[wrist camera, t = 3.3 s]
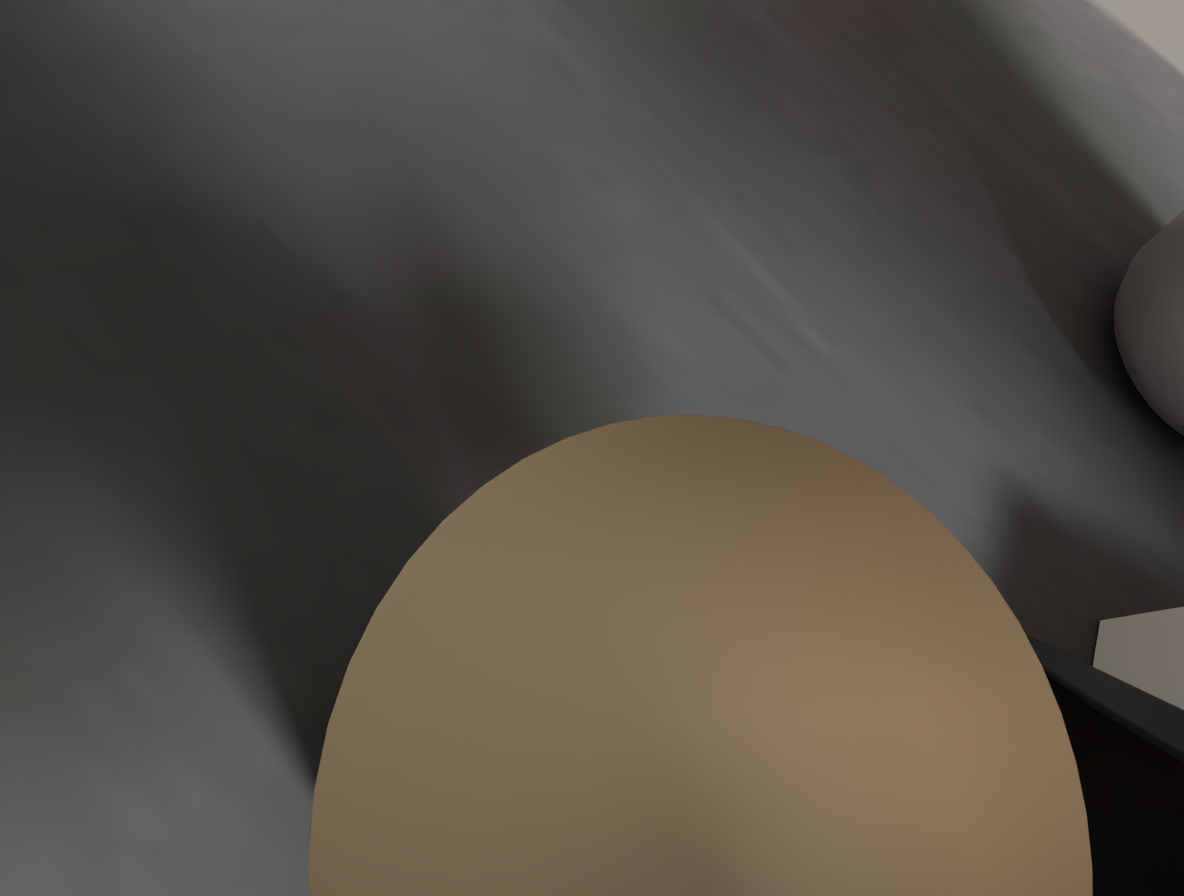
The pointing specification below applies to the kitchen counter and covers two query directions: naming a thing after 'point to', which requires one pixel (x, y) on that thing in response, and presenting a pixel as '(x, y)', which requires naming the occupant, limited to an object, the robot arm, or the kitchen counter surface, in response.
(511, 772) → the peg
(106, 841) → the kitchen counter surface
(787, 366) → the kitchen counter surface
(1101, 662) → the socket
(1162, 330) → the plastic bottle
